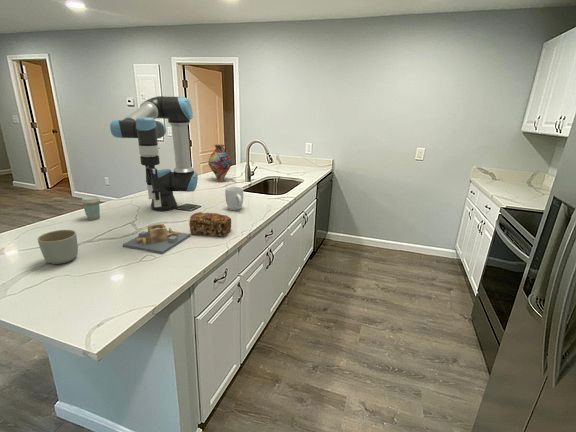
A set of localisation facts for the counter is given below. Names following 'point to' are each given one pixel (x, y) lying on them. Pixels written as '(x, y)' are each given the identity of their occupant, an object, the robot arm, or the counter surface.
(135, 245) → the post base
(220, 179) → the vase
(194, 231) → the bread
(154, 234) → the wooden frame with handle
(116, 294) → the counter surface
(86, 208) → the coffee cup
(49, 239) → the planter
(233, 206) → the mug
